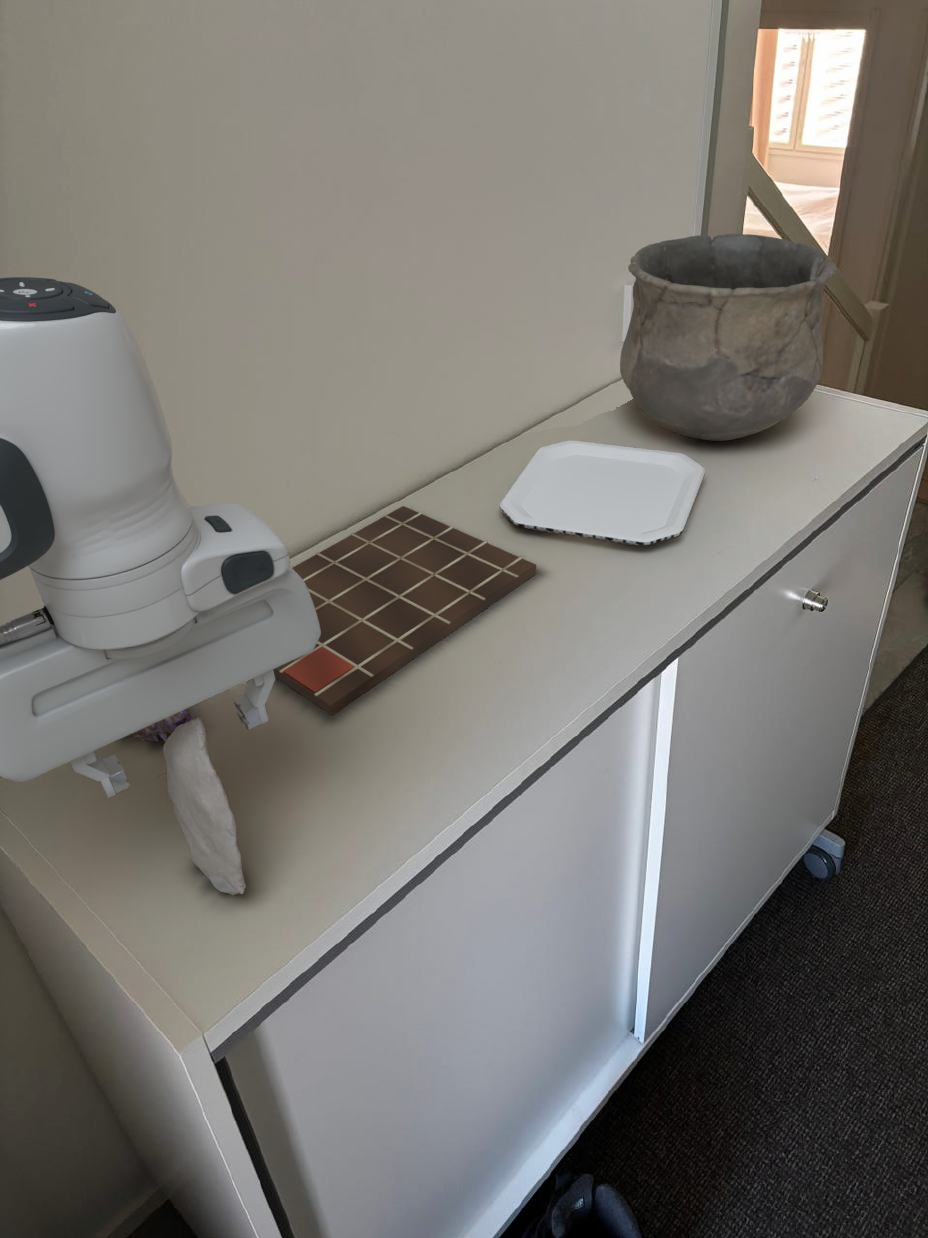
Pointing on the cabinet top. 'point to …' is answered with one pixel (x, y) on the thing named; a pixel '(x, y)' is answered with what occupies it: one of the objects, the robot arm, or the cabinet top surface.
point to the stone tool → (203, 807)
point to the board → (393, 601)
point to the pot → (724, 332)
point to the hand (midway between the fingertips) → (187, 753)
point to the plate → (605, 492)
